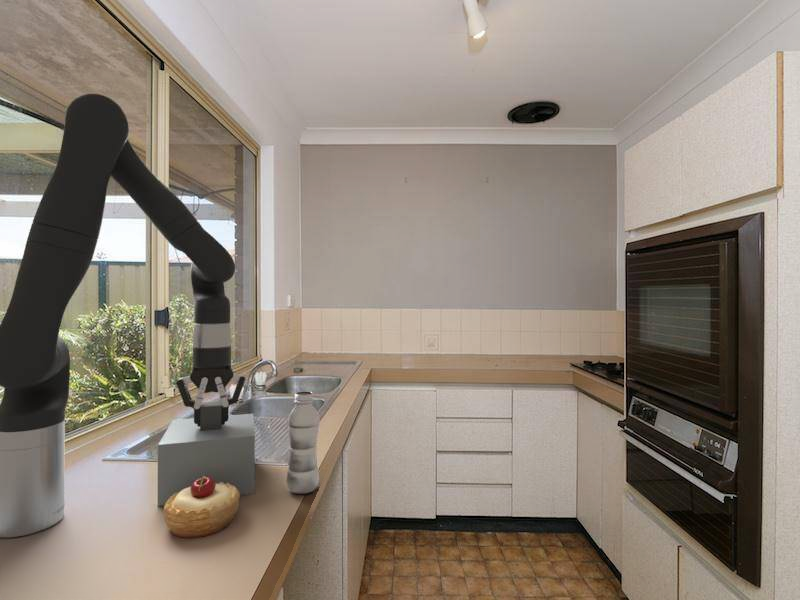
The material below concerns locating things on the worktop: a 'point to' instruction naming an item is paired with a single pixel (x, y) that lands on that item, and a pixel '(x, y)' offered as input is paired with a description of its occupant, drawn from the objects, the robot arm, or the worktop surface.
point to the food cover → (207, 452)
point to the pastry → (201, 508)
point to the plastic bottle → (303, 445)
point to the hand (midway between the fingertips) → (211, 424)
